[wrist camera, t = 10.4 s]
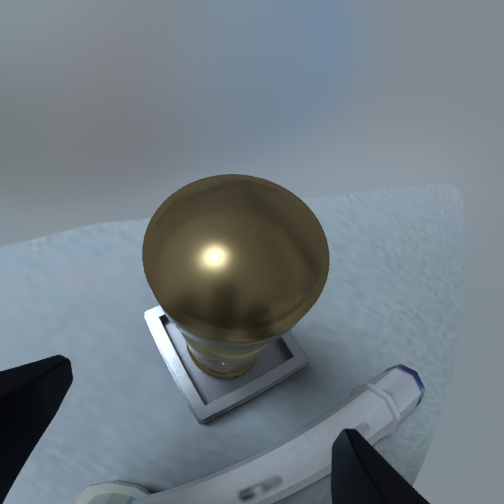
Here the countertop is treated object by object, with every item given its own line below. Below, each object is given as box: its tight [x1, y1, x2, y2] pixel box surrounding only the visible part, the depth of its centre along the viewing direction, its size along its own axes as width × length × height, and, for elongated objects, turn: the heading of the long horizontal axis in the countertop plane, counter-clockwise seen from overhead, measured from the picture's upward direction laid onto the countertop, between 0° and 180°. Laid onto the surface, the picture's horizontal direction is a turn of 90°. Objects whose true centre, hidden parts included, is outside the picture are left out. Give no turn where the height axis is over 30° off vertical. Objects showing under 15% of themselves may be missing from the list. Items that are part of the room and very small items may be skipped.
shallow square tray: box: [144, 305, 309, 425], centre depth 18 cm, size 8×8×2 cm
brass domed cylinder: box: [142, 174, 329, 379], centre depth 13 cm, size 5×5×13 cm
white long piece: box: [75, 364, 425, 504], centre depth 13 cm, size 5×7×25 cm
